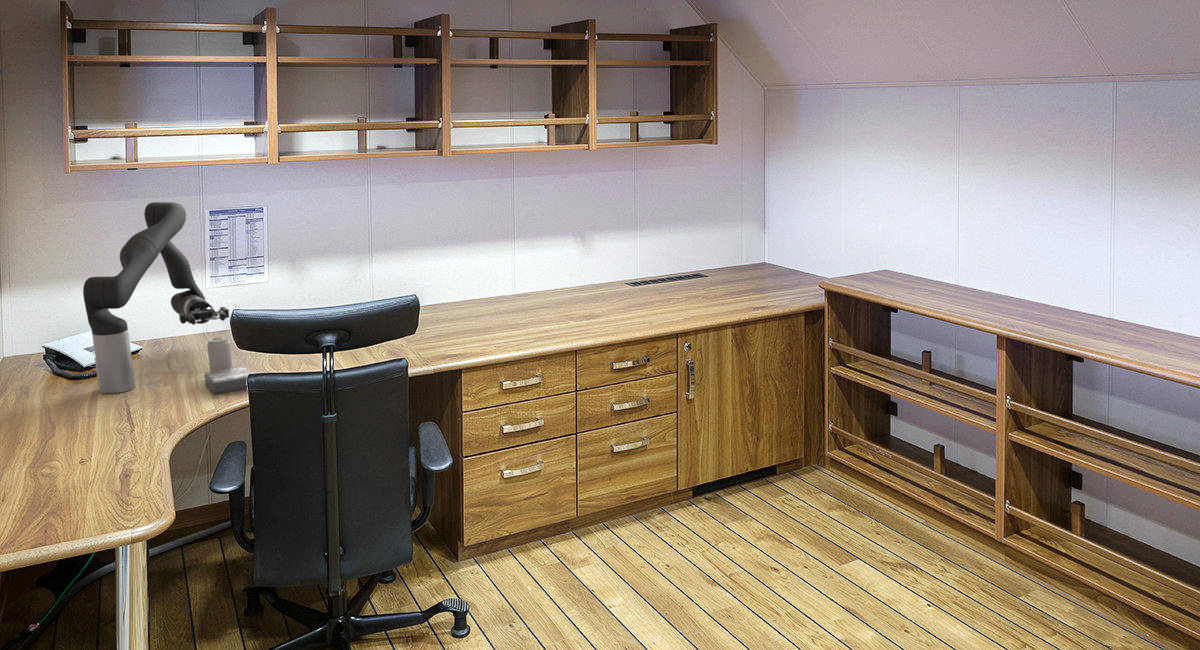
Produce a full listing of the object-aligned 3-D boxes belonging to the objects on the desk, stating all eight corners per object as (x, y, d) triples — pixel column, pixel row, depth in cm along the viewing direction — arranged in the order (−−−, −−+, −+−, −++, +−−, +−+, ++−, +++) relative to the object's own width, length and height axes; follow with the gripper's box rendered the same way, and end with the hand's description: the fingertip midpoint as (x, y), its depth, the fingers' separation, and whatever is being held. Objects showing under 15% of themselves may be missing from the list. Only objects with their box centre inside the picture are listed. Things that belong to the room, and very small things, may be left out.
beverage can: (226, 373, 292) (222, 335, 289) (237, 376, 288) (233, 338, 285) (206, 378, 287) (202, 339, 284) (218, 381, 283) (213, 342, 280)
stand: (214, 395, 269) (212, 381, 269) (205, 385, 279) (204, 372, 278) (257, 388, 276) (256, 374, 275) (247, 378, 286) (246, 365, 285)
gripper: (173, 301, 302) (182, 310, 289) (219, 295, 310) (231, 304, 296) (175, 324, 304) (185, 334, 291) (222, 318, 311) (234, 327, 298)
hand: (208, 319), depth 294 cm, fingers open, 8 cm apart
